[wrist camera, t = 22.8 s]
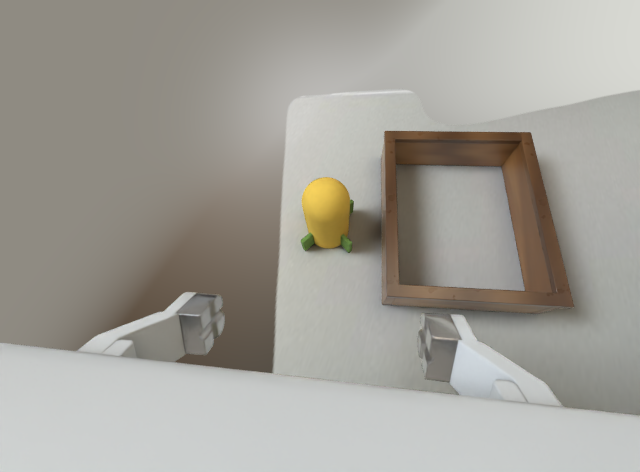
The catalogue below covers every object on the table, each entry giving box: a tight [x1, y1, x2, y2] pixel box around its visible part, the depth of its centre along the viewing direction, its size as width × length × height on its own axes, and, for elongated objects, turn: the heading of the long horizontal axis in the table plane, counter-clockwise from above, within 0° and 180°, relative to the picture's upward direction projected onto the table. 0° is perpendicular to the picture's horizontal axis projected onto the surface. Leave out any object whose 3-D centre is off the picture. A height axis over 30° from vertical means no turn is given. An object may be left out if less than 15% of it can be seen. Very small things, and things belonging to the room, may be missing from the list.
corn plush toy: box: [301, 177, 354, 253], centre depth 30 cm, size 5×5×8 cm
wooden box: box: [381, 131, 574, 314], centre depth 31 cm, size 15×18×5 cm
